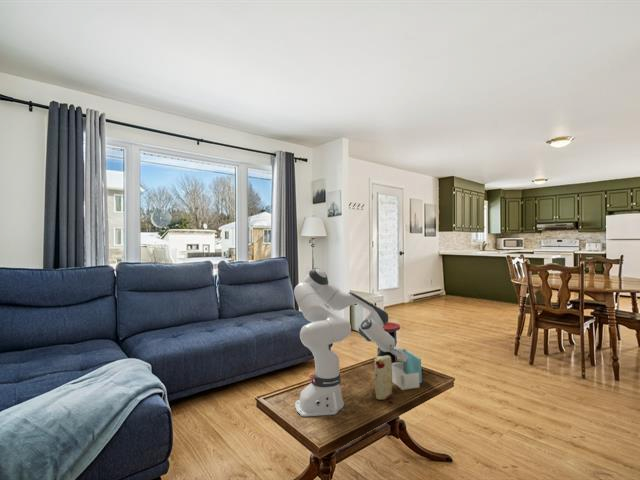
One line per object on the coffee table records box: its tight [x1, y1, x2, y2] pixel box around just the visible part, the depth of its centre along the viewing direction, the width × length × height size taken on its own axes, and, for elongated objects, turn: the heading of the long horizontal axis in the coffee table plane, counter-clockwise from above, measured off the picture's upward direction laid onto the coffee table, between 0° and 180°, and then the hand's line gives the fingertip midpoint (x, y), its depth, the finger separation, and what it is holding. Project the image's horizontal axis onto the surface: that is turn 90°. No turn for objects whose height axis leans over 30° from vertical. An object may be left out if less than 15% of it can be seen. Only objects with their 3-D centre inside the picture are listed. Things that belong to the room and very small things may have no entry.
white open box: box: [392, 361, 420, 391], centre depth 174 cm, size 10×17×9 cm, turn 15°
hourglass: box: [373, 321, 401, 370], centre depth 194 cm, size 16×16×25 cm
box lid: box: [402, 348, 423, 384], centre depth 175 cm, size 2×17×12 cm, turn 14°
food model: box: [373, 355, 393, 400], centre depth 157 cm, size 10×7×20 cm
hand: (403, 359), depth 174 cm, fingers closed
